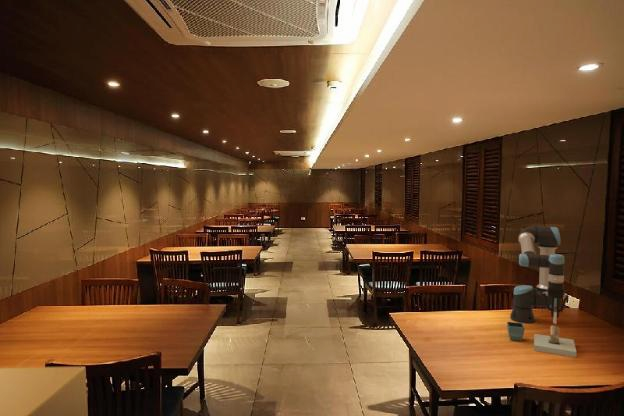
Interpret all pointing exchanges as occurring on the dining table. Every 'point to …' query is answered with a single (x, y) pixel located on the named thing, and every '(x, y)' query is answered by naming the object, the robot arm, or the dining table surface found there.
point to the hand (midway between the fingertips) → (554, 322)
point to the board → (554, 346)
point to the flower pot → (515, 330)
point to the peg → (554, 335)
